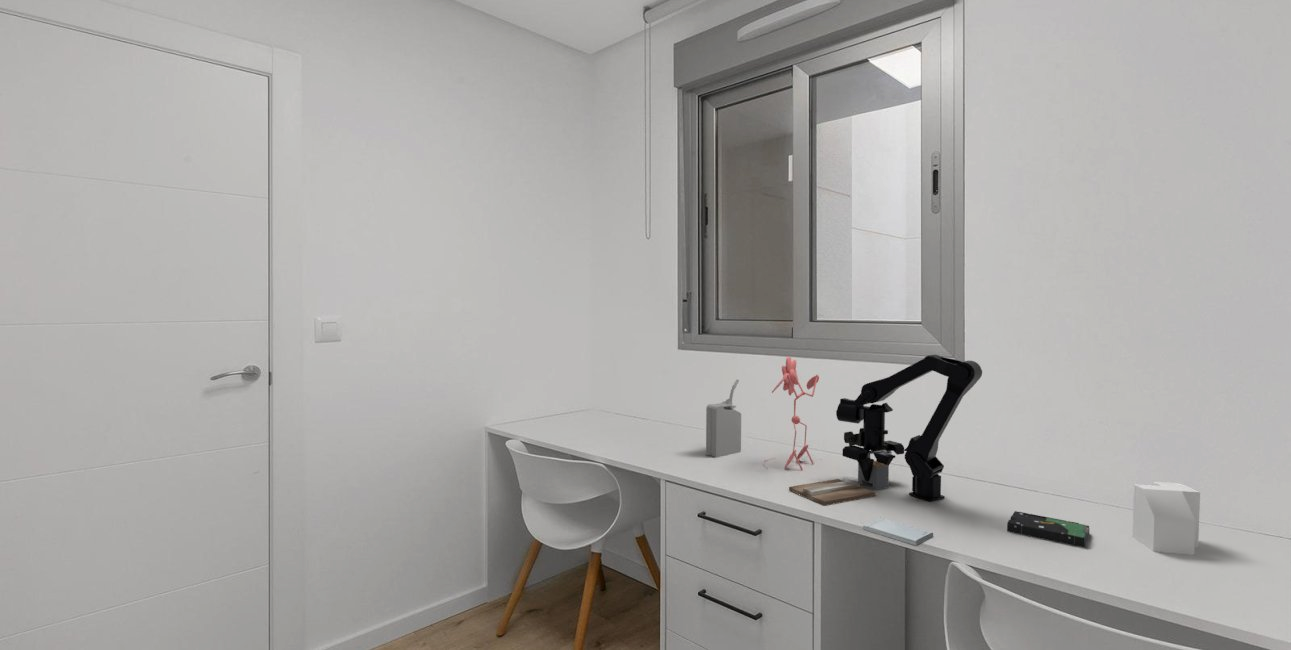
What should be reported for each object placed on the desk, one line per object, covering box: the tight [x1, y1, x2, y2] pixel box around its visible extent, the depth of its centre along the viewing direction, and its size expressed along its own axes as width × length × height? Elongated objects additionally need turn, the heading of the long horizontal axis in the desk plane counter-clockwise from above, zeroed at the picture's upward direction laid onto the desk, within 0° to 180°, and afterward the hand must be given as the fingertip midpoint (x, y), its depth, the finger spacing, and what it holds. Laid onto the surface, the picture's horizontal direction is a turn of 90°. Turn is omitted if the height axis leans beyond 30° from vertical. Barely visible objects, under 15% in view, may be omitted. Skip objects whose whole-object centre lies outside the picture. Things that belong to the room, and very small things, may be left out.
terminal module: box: [857, 460, 890, 490], centre depth 175 cm, size 7×4×7 cm, turn 26°
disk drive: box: [1006, 510, 1090, 549], centre depth 139 cm, size 10×3×15 cm
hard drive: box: [862, 517, 934, 546], centre depth 139 cm, size 2×8×12 cm
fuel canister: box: [705, 379, 742, 458], centre depth 212 cm, size 15×5×25 cm, turn 130°
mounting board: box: [788, 478, 877, 506], centre depth 168 cm, size 14×18×2 cm
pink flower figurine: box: [762, 356, 823, 471], centre depth 198 cm, size 15×26×35 cm, turn 143°
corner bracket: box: [1131, 481, 1201, 555], centre depth 133 cm, size 11×11×12 cm
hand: (873, 479), depth 175 cm, fingers closed on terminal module, 4 cm apart
